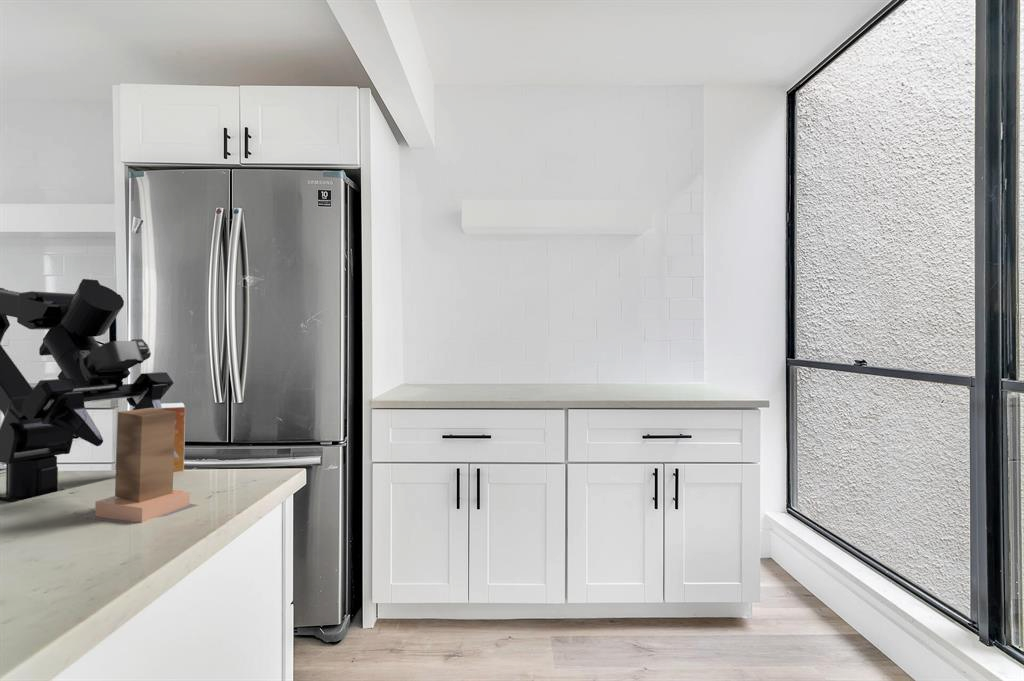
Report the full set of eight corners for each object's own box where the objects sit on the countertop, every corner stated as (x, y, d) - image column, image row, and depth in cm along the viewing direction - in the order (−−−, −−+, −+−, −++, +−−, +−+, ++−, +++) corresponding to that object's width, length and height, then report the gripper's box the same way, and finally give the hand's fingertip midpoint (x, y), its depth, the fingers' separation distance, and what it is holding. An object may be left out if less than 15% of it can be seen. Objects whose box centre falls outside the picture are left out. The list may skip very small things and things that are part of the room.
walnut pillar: (115, 496, 81) (117, 412, 81) (149, 487, 86) (151, 407, 85) (139, 502, 79) (142, 416, 79) (172, 493, 84) (175, 411, 84)
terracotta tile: (95, 516, 79) (95, 501, 79) (145, 499, 87) (145, 486, 87) (142, 522, 77) (142, 507, 77) (189, 505, 85) (189, 491, 85)
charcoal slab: (81, 530, 79) (81, 516, 79) (148, 509, 89) (149, 496, 89) (134, 541, 76) (134, 526, 76) (198, 518, 85) (198, 505, 85)
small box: (131, 483, 100) (132, 408, 100) (131, 475, 105) (132, 404, 105) (184, 477, 104) (185, 406, 104) (182, 470, 110) (183, 402, 109)
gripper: (37, 319, 75) (95, 410, 72) (166, 322, 93) (217, 395, 89) (-3, 375, 78) (51, 465, 75) (129, 368, 96) (178, 440, 92)
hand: (132, 438), depth 83 cm, fingers open, 9 cm apart
